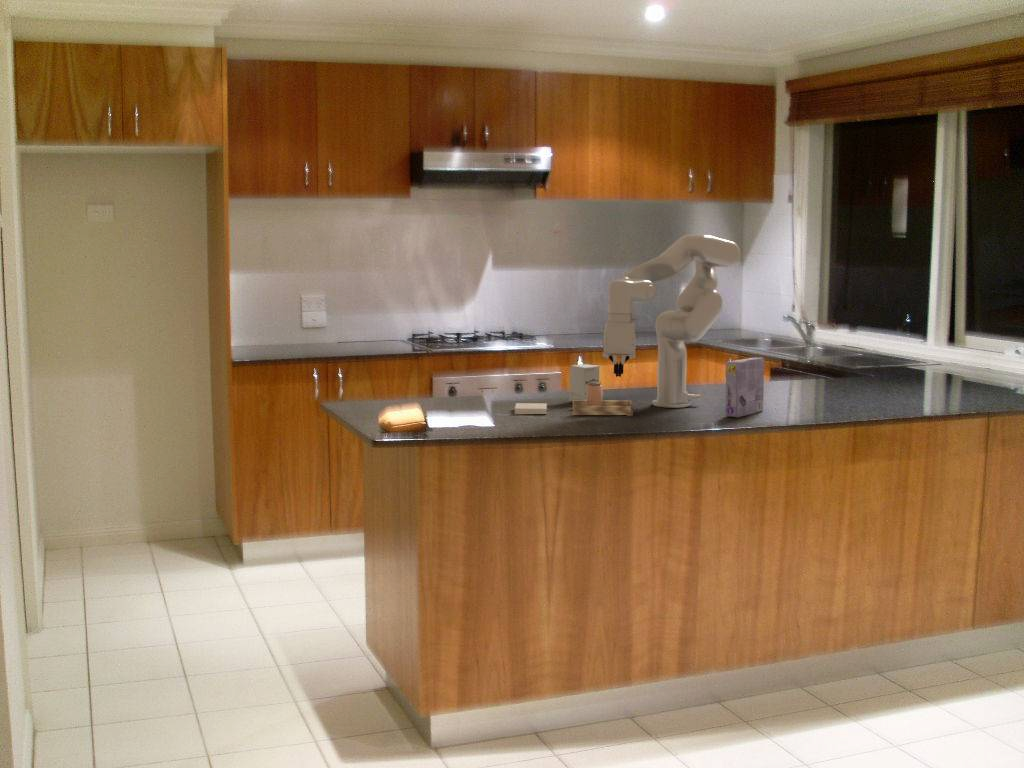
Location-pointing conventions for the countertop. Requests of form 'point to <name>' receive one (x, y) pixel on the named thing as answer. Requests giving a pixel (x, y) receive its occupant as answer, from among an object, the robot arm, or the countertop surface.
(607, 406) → the wooden tray
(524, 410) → the block
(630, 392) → the countertop surface
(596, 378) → the supplement box
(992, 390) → the countertop surface
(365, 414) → the countertop surface
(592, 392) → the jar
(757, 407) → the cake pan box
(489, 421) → the countertop surface
